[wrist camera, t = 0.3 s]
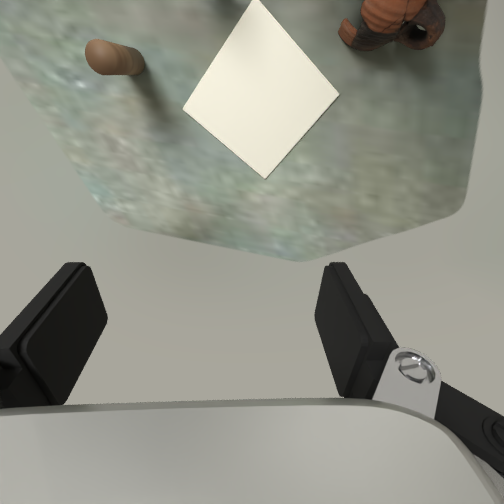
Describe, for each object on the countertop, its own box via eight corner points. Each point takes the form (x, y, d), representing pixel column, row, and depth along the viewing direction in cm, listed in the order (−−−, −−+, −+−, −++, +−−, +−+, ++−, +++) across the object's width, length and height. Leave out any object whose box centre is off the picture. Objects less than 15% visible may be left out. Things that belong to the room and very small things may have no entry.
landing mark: (255, -4, 29) (255, -5, 29) (338, 94, 35) (339, 94, 34) (182, 108, 35) (182, 109, 34) (264, 178, 40) (265, 179, 40)
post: (127, 41, 31) (92, 31, 23) (148, 60, 32) (121, 55, 24) (117, 63, 32) (80, 59, 24) (137, 80, 33) (108, 81, 25)
